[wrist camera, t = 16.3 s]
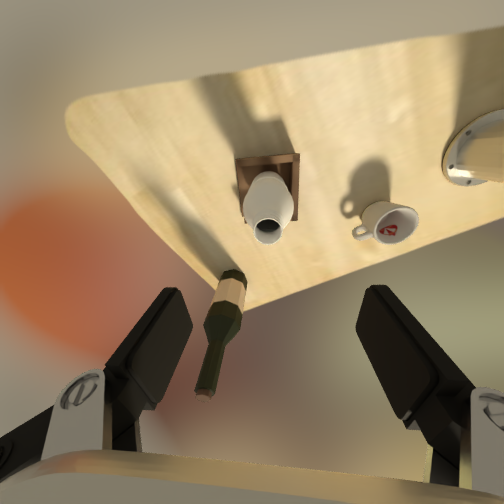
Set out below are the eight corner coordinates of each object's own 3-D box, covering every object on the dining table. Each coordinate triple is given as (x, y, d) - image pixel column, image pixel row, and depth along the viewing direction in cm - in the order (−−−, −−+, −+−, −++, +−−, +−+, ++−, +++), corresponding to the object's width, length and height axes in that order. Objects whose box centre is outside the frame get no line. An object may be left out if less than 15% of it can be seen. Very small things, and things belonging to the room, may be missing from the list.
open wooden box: (295, 153, 37) (299, 153, 32) (293, 212, 43) (297, 220, 38) (236, 159, 38) (231, 160, 33) (242, 215, 44) (239, 223, 39)
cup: (351, 241, 46) (366, 257, 39) (339, 215, 43) (353, 228, 36) (397, 219, 42) (423, 233, 35) (388, 189, 39) (414, 198, 32)
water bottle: (245, 189, 40) (219, 234, 19) (266, 162, 37) (265, 178, 16) (268, 210, 42) (269, 273, 21) (291, 185, 39) (320, 229, 18)
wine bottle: (253, 282, 55) (239, 403, 28) (233, 294, 58) (204, 413, 32) (234, 264, 52) (200, 379, 26) (214, 278, 55) (166, 393, 29)
